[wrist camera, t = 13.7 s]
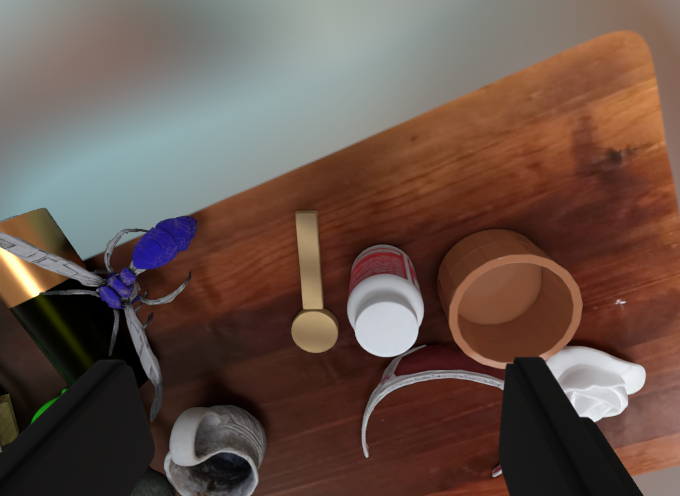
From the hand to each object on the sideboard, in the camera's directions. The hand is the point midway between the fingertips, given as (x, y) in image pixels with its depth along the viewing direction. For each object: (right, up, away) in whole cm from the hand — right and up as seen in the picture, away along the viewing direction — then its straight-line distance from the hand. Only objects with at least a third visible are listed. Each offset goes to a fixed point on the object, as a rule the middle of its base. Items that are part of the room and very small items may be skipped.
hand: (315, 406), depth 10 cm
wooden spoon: (-2, +1, +31) cm, 31 cm away
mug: (-12, -15, +38) cm, 42 cm away
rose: (+26, -9, +33) cm, 43 cm away
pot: (+15, +1, +30) cm, 33 cm away
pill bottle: (+5, +2, +31) cm, 31 cm away
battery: (-22, -11, +33) cm, 41 cm away
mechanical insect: (-16, +4, +32) cm, 36 cm away
